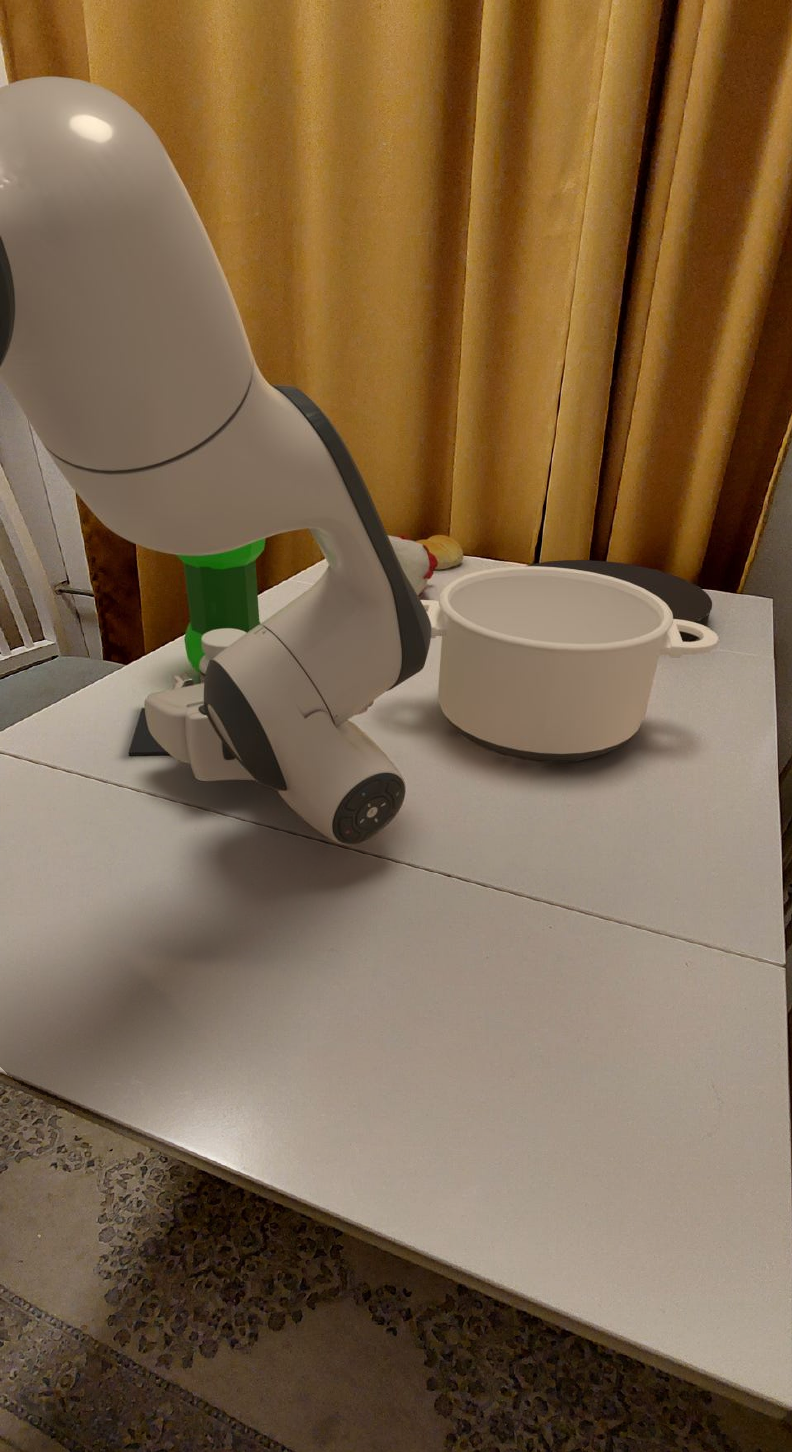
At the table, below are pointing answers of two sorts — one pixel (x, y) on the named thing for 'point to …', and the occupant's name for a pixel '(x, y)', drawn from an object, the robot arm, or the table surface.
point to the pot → (552, 659)
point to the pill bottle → (216, 645)
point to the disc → (652, 587)
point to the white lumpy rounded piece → (414, 561)
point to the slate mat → (144, 740)
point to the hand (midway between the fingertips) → (224, 673)
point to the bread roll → (444, 550)
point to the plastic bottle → (220, 594)
